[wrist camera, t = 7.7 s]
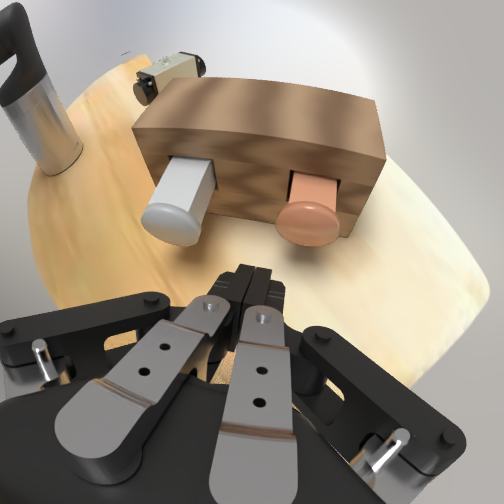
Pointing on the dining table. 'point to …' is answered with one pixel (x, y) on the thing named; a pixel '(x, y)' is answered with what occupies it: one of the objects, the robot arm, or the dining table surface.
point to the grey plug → (181, 200)
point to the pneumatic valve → (166, 75)
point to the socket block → (265, 142)
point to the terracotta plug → (310, 211)
